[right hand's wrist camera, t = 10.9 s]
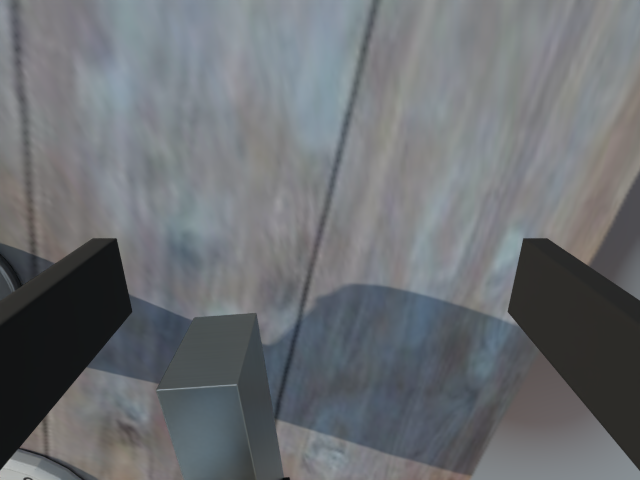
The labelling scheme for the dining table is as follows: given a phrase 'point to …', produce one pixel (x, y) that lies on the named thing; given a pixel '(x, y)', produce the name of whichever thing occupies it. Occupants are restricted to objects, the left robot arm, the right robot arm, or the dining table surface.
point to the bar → (221, 402)
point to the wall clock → (34, 468)
